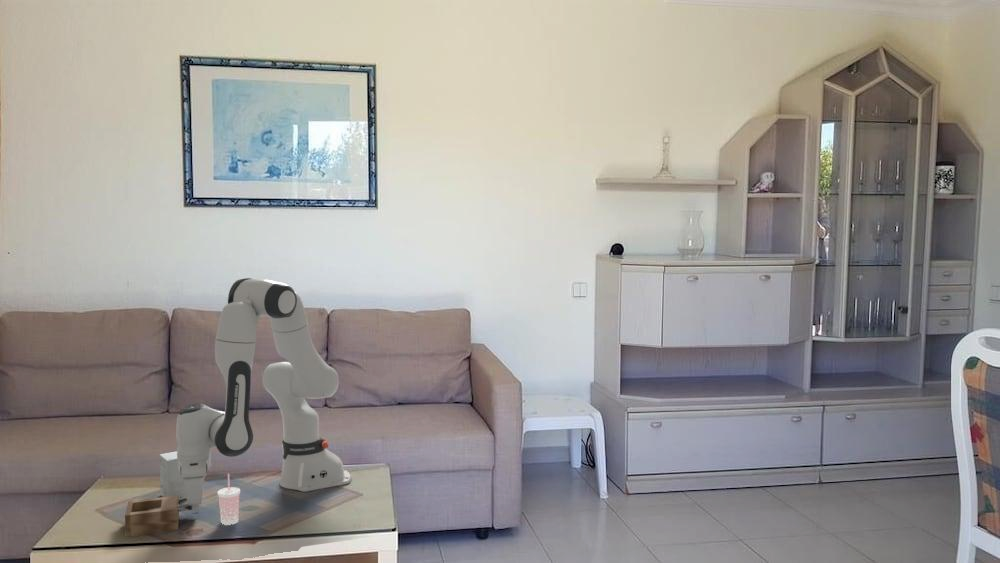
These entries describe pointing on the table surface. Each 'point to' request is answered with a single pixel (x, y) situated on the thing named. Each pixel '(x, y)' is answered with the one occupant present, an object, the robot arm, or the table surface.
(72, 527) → the table surface
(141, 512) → the socket block
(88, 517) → the table surface
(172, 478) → the small box
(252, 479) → the table surface
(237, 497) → the beverage cup
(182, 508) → the lock pin
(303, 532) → the table surface
